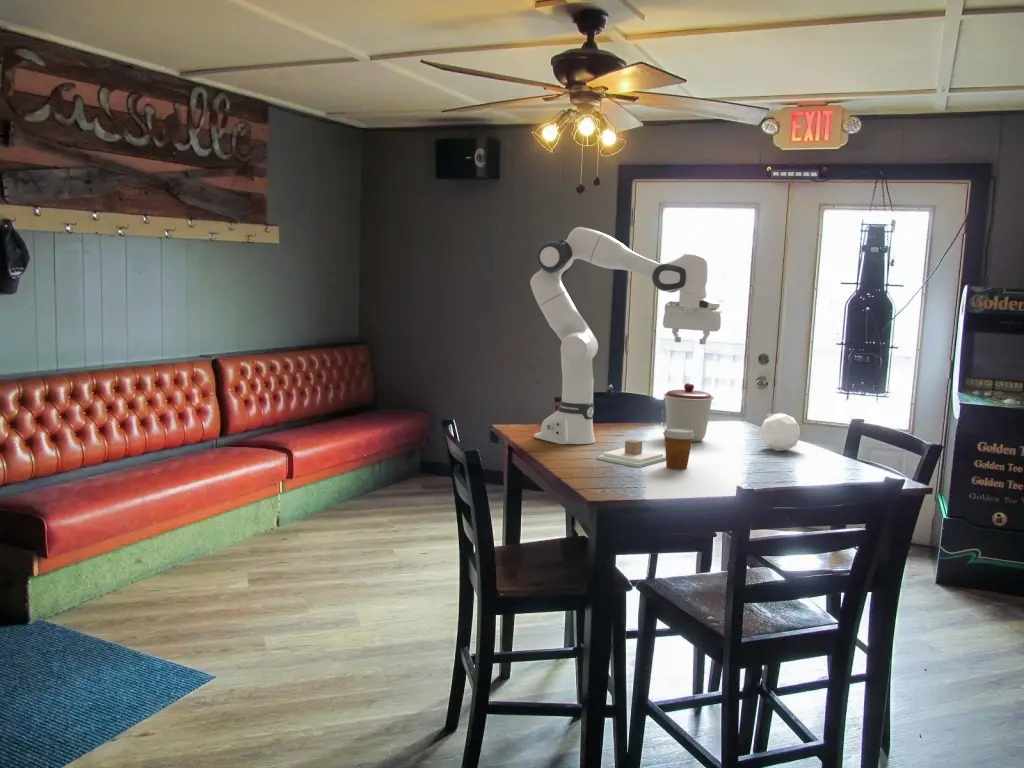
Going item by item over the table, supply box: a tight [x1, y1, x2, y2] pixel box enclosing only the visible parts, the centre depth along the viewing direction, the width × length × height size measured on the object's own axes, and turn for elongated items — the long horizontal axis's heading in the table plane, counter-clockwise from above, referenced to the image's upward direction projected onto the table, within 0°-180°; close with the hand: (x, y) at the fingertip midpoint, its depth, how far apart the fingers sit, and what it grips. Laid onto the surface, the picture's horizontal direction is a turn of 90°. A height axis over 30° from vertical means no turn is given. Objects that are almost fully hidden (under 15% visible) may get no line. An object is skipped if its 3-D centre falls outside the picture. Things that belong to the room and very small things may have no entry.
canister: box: [663, 382, 714, 443], centre depth 318 cm, size 18×18×21 cm
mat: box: [596, 454, 666, 468], centre depth 281 cm, size 16×18×1 cm
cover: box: [602, 439, 664, 463], centre depth 280 cm, size 14×14×5 cm
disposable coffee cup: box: [662, 427, 694, 471], centre depth 270 cm, size 10×10×12 cm
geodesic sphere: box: [760, 411, 801, 452], centre depth 305 cm, size 14×14×14 cm
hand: (690, 343), depth 293 cm, fingers open, 8 cm apart
